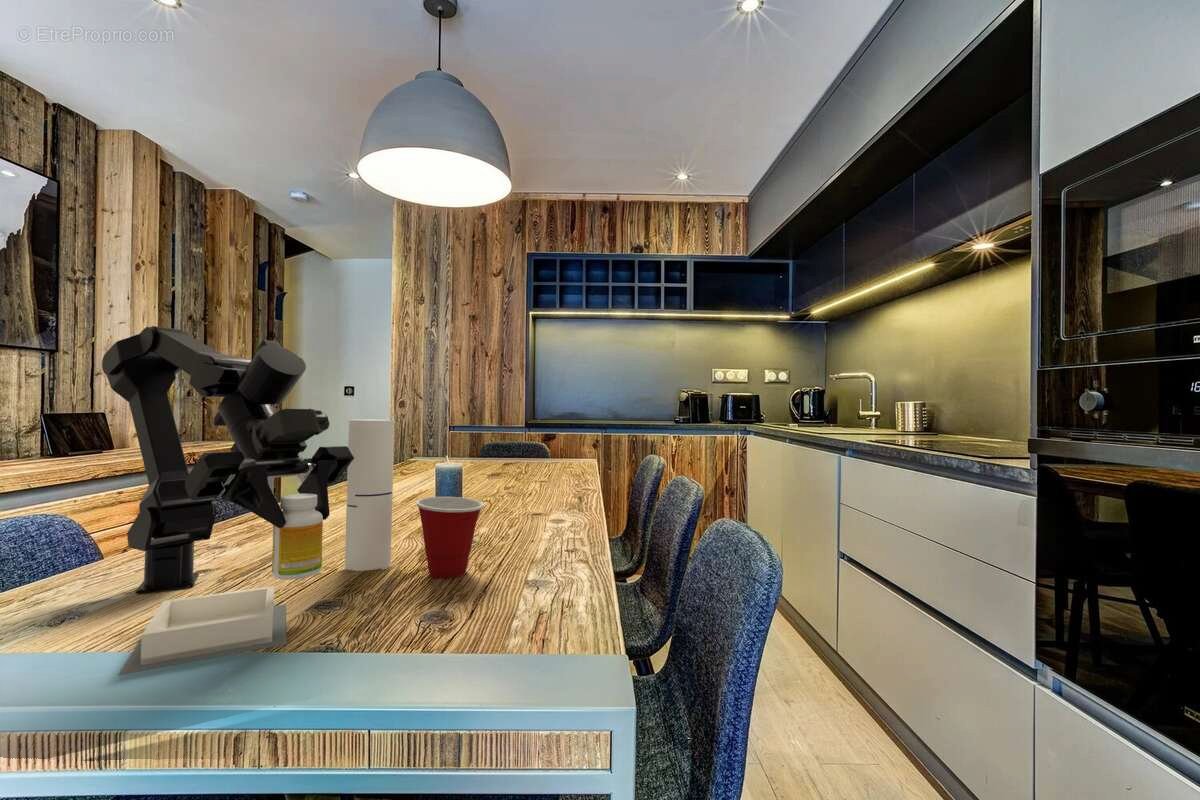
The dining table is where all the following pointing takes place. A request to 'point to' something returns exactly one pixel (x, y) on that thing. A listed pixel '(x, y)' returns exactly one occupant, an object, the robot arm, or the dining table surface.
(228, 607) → the dish
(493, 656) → the dining table surface
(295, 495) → the supplement bottle
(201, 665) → the dining table surface
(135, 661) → the mat
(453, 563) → the plastic cup
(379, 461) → the cylindrical container
